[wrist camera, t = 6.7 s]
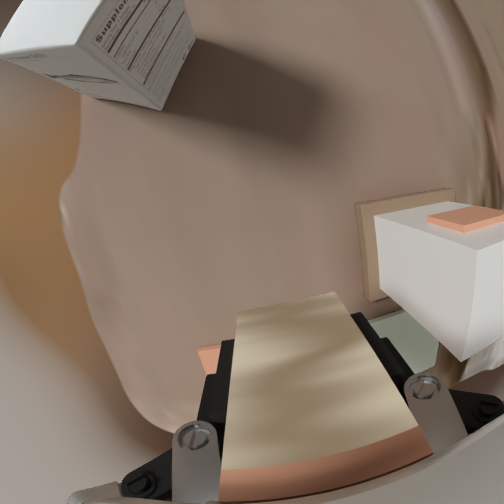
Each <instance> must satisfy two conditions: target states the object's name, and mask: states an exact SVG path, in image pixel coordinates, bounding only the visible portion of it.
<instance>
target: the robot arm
mask: <svg viewBox="0 0 504 504" xmlns="http://www.w3.org/2000/svg"><path fill="white" fill-rule="evenodd" d="M350 316H351V317H352V319H353V320H354V322H355V323H356V325H357V326H358V328H359V329H360V331H361V332H362V334H363V335H364V337H365V338H366V340H367V341H368V343H369V345H370V346H371V348H372V349H373V351H374V352H375V354H376V355H377V357H378V359H379V360H380V362H381V363H382V365H383V367H384V368H385V370H386V371H387V373H388V375H389V376H390V378H391V379H392V381H393V383H394V384H395V386H396V388H397V389H398V391H399V393H400V394H401V396H402V398H403V399H404V401H405V403H406V404H407V406H408V408H409V410H410V411H411V413H412V415H413V416H414V418H415V420H416V422H417V423H418V425H419V427H420V429H421V430H422V432H423V434H424V436H425V438H426V439H427V441H428V443H429V445H430V447H431V449H432V450H433V454H432V456H430V457H428V458H426V459H424V460H422V461H419V462H417V463H415V464H413V465H410V466H408V467H406V468H403V469H401V470H398V471H396V472H393V473H391V474H388V475H385V476H382V477H379V478H377V479H374V480H371V481H368V482H364V483H361V484H358V485H354V486H351V487H347V488H343V489H339V490H335V491H331V492H327V493H322V494H317V495H312V496H307V497H301V498H295V499H288V500H280V501H271V502H261V503H245V504H504V401H501V400H500V399H499V398H497V397H496V396H493V395H487V394H478V393H471V392H464V391H457V390H451V389H448V388H447V386H446V384H445V382H444V380H443V379H442V377H440V376H439V375H437V374H435V373H432V372H420V373H417V374H414V372H413V371H412V369H411V368H410V367H409V365H408V364H407V363H406V361H405V360H404V359H403V357H402V356H401V355H400V353H399V352H398V351H397V349H396V348H395V347H394V345H393V344H392V343H391V341H390V340H389V339H388V338H387V337H383V338H380V337H379V335H378V334H377V333H376V331H375V330H374V329H373V327H372V326H371V325H370V323H369V322H368V321H367V319H366V318H365V317H364V315H363V314H362V313H361V312H358V313H355V314H351V315H350ZM234 342H235V339H232V340H225V341H222V343H221V348H220V354H219V359H218V365H217V370H216V373H215V374H208V375H207V376H206V380H205V384H204V389H203V394H202V398H201V403H200V407H199V412H198V417H197V421H192V422H189V423H186V424H184V425H182V426H181V427H180V428H179V429H178V430H177V431H176V432H175V434H174V436H173V446H172V448H171V449H170V450H168V451H166V452H165V453H163V454H161V455H160V456H158V457H157V458H155V459H153V460H152V461H150V462H148V463H146V464H144V465H143V466H141V467H139V468H137V469H136V470H134V471H132V472H130V473H129V474H127V475H126V477H125V478H124V479H123V480H122V483H118V482H116V481H115V482H112V483H108V484H104V485H101V486H97V487H93V488H89V489H85V490H80V491H76V492H74V493H72V494H71V495H70V496H69V498H68V500H67V504H220V503H219V502H218V496H219V485H220V475H221V465H222V455H223V445H224V436H225V426H226V416H227V407H228V397H229V388H230V379H231V369H232V360H233V351H234Z"/></svg>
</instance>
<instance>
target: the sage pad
mask: <svg viewBox="0 0 504 504" xmlns="http://www.w3.org/2000/svg"><path fill="white" fill-rule="evenodd" d="M367 321H368V322H369V323H370V325H371V326H372V327H373V329H374V330H375V331H376V333H377V334H378V335H379V337H380V338H383V337H387V338H388V339H389V340H390V341H391V343H392V344H393V345H394V347H395V348H396V349H397V351H398V352H399V353H400V355H401V356H402V357H403V359H404V360H405V361H406V363H407V364H408V365H409V367H410V368H411V369H412V371H413V372H414V374H417V373H420V372H422V371H424V370H426V369H429V368H431V367H433V366H435V362H436V357H437V351H438V346H439V341H438V340H437V339H436V338H435V337H434V336H433V335H432V334H431V333H430V332H429V331H428V330H426V329H425V328H424V327H423V326H422V325H421V324H420V323H419V322H418V321H417V320H415V319H414V318H413V317H412V316H411V315H410V314H409V313H408V312H407V311H405V310H404V309H402V310H399V311H396V312H393V313H390V314H386V315H383V316H380V317H377V318H374V319H371V320H367Z"/></svg>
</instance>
